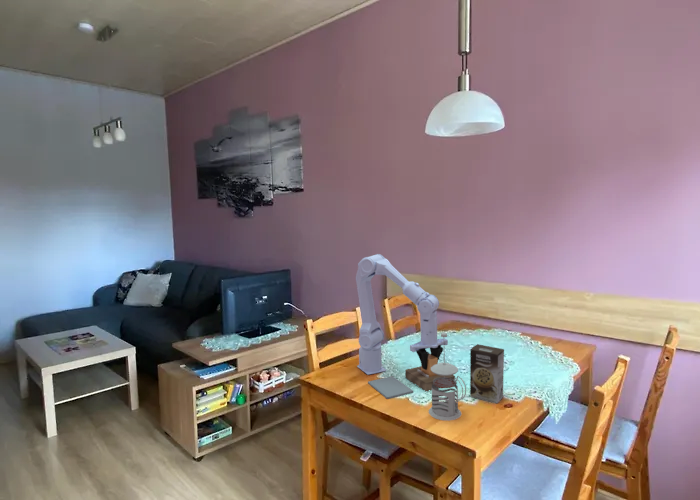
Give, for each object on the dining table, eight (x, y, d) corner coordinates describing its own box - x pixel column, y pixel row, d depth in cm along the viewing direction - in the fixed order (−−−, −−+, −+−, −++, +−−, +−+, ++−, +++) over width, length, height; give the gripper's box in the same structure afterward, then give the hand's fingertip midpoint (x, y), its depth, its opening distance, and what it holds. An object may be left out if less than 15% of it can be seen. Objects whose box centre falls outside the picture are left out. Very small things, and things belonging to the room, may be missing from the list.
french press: (439, 401, 140) (438, 325, 137) (473, 413, 132) (472, 332, 129) (422, 413, 133) (420, 333, 130) (456, 426, 125) (455, 341, 122)
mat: (367, 383, 156) (367, 381, 156) (392, 377, 160) (392, 375, 160) (387, 399, 143) (387, 397, 143) (413, 392, 147) (413, 390, 147)
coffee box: (469, 397, 142) (469, 349, 140) (476, 389, 148) (476, 343, 146) (497, 404, 137) (497, 354, 135) (504, 396, 142) (504, 348, 140)
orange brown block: (421, 379, 157) (421, 355, 156) (429, 377, 159) (429, 353, 158) (429, 384, 153) (429, 359, 152) (437, 382, 154) (437, 357, 153)
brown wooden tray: (405, 377, 159) (405, 368, 159) (433, 371, 164) (432, 362, 164) (425, 391, 147) (425, 381, 147) (454, 384, 152) (454, 374, 152)
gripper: (417, 336, 147) (418, 375, 149) (452, 330, 153) (453, 367, 154) (406, 331, 153) (407, 368, 155) (440, 324, 159) (441, 360, 161)
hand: (429, 367), depth 155 cm, fingers closed on orange brown block, 3 cm apart
